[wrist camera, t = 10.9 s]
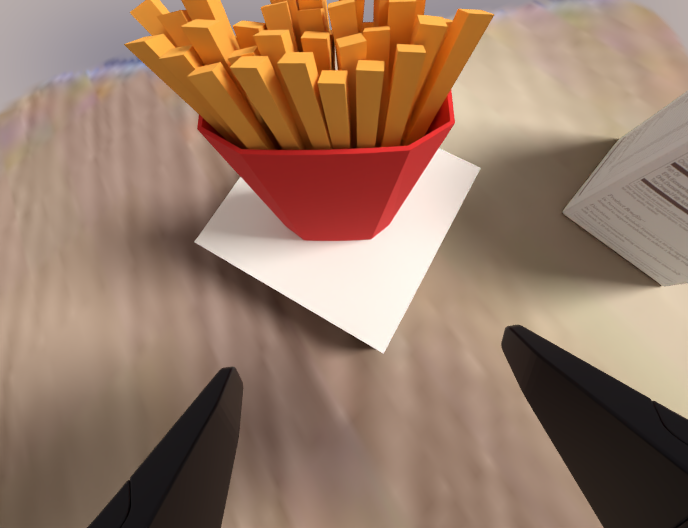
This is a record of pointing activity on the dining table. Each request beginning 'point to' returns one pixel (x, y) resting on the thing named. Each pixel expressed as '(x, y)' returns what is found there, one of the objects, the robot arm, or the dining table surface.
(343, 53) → the french fries
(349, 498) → the dining table surface
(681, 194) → the supplement box
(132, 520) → the robot arm
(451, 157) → the white flat square block
